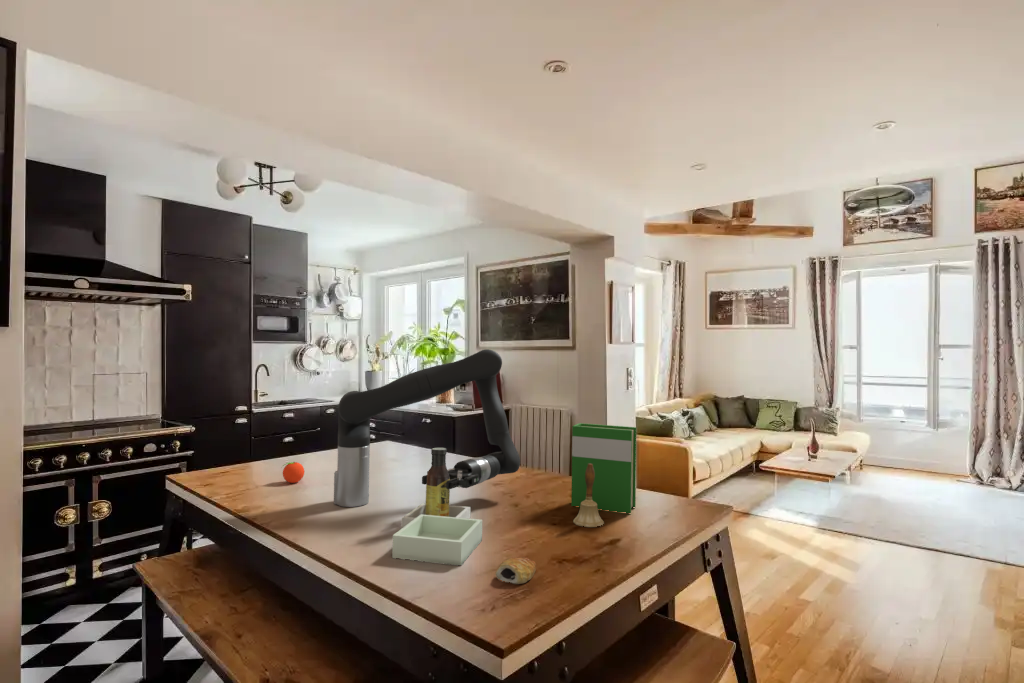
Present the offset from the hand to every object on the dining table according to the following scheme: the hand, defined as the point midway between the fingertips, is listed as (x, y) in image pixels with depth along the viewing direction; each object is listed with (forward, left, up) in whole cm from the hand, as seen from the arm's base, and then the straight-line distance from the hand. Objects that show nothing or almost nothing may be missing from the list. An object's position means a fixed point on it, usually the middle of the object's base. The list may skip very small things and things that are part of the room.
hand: (435, 482), depth 143 cm
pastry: (+28, -26, -12) cm, 40 cm away
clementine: (-63, +28, -11) cm, 70 cm away
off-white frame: (0, +1, -11) cm, 11 cm away
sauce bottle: (0, +1, -11) cm, 11 cm away
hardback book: (+42, +29, -11) cm, 53 cm away
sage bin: (+7, -16, -11) cm, 21 cm away
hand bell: (+39, +13, -11) cm, 43 cm away
